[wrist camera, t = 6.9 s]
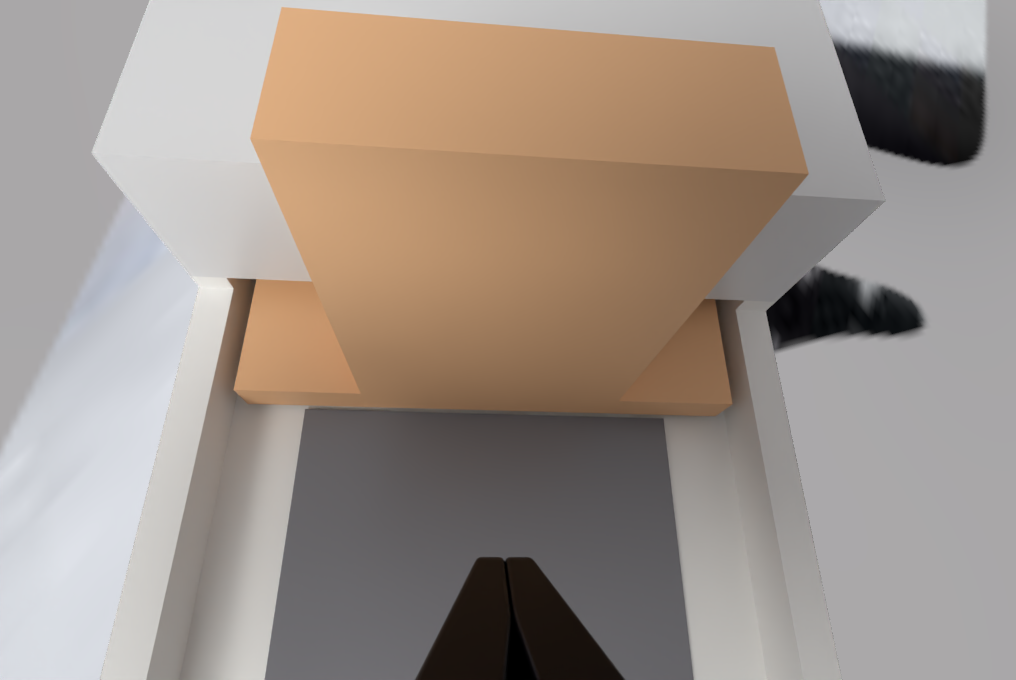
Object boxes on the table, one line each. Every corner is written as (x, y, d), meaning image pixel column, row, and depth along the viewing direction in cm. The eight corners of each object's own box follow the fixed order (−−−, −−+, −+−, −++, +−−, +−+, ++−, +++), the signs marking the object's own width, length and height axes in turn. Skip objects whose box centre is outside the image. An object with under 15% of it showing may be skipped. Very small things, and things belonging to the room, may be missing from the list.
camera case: (750, 739, 15) (1121, 908, 7) (180, 750, 14) (-223, 974, 5) (658, 102, 24) (765, -158, 16) (311, 76, 23) (232, -218, 15)
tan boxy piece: (715, 416, 15) (1041, 188, 7) (247, 403, 14) (-45, 120, 6) (677, 169, 18) (863, -186, 10) (297, 145, 17) (158, -268, 9)
